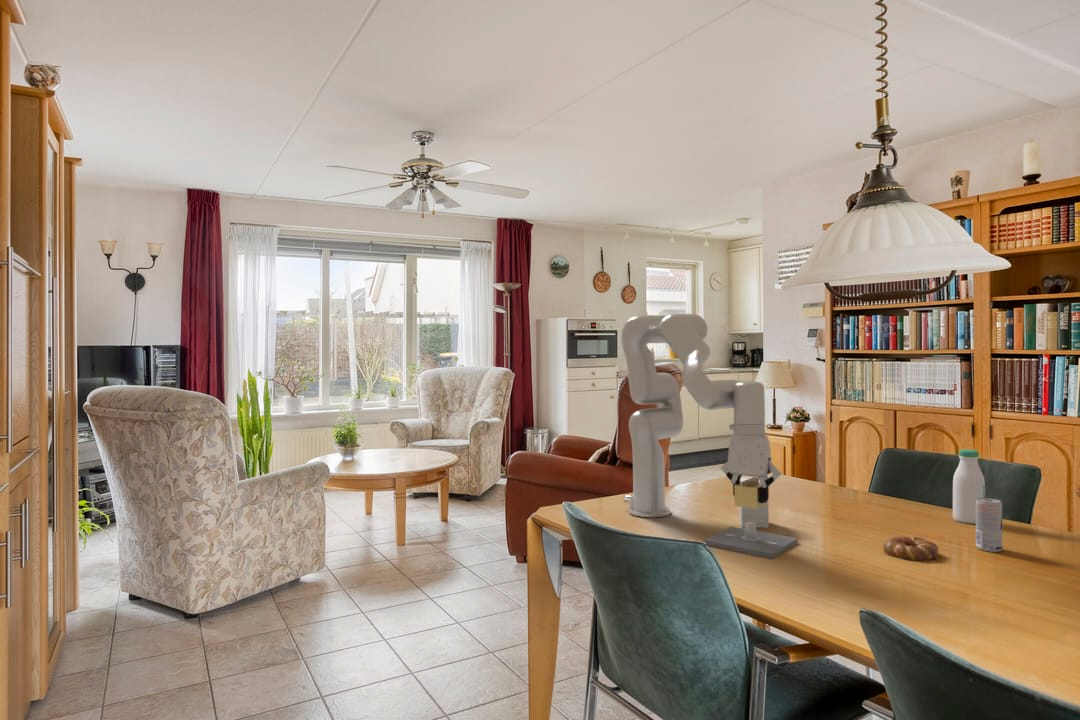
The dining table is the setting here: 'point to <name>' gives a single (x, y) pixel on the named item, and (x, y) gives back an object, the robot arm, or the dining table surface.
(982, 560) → the dining table surface
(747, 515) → the supplement box
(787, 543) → the post base
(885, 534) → the dining table surface
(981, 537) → the energy drink
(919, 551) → the pretzel
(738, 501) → the tan boxy piece
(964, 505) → the milk bottle
